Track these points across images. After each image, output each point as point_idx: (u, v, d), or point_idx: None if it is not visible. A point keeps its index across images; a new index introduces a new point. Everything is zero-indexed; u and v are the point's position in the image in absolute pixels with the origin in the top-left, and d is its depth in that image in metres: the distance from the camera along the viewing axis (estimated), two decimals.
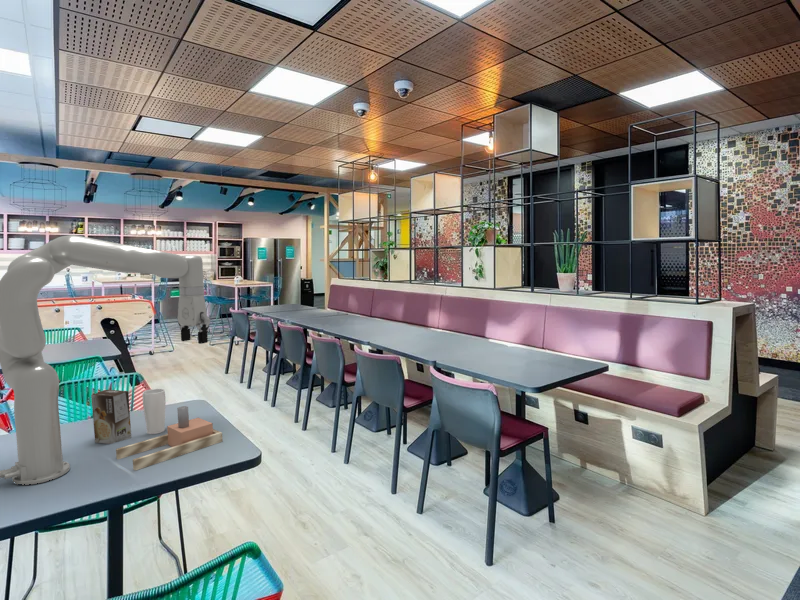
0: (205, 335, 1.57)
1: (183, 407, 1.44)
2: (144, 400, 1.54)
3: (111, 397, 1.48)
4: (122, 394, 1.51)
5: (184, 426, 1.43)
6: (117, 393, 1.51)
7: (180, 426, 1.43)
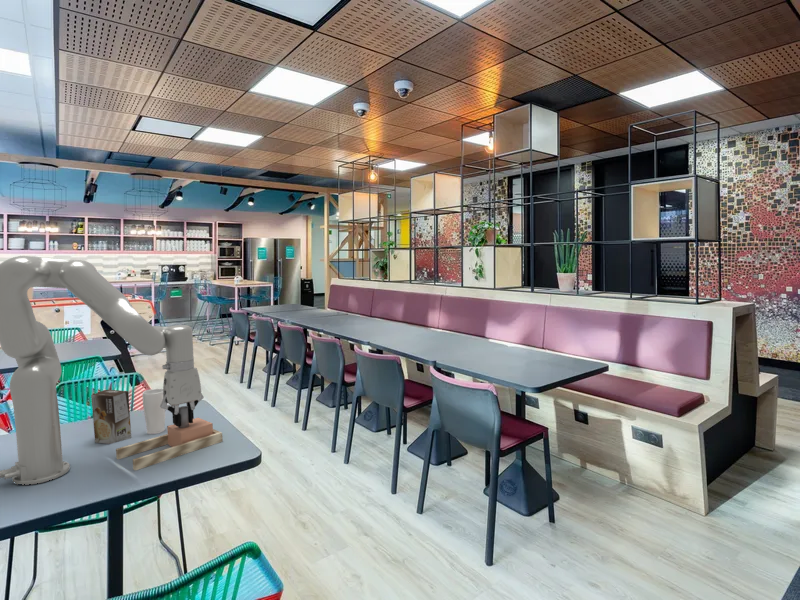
0: None
1: (183, 407, 1.44)
2: (144, 400, 1.54)
3: (111, 397, 1.48)
4: (122, 394, 1.51)
5: (184, 426, 1.43)
6: (117, 393, 1.51)
7: (180, 426, 1.43)
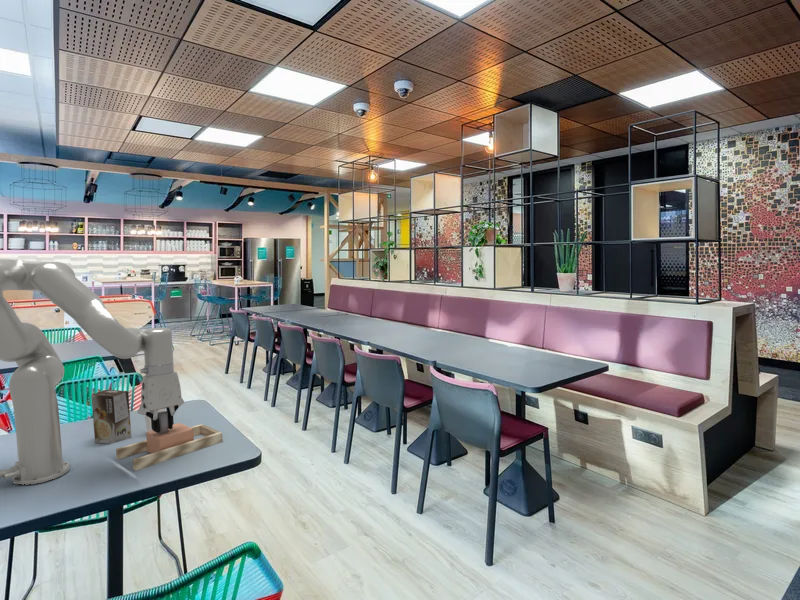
0: None
1: (162, 412, 1.39)
2: None
3: (111, 397, 1.48)
4: (122, 394, 1.51)
5: (163, 432, 1.38)
6: (117, 393, 1.51)
7: (159, 432, 1.38)
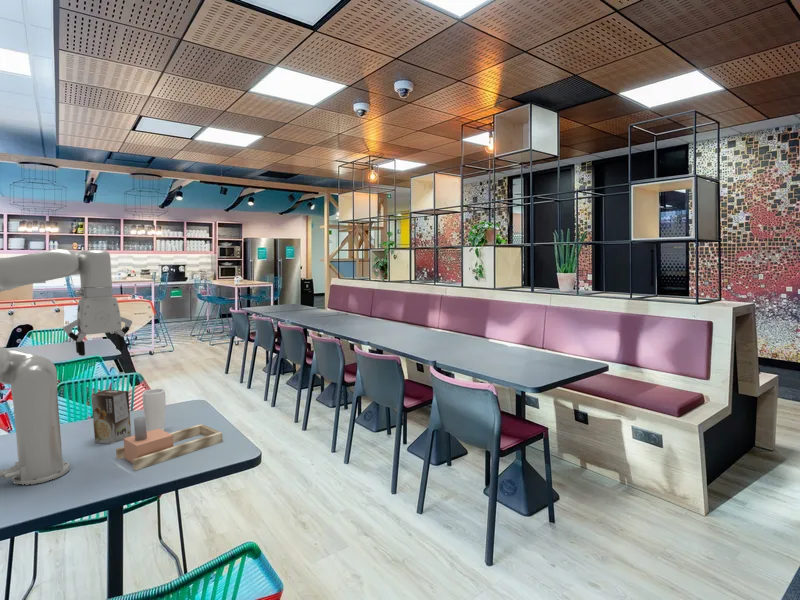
0: None
1: (140, 418, 1.35)
2: (144, 400, 1.54)
3: (111, 397, 1.48)
4: (122, 394, 1.51)
5: (141, 438, 1.34)
6: (117, 393, 1.51)
7: (137, 438, 1.33)
